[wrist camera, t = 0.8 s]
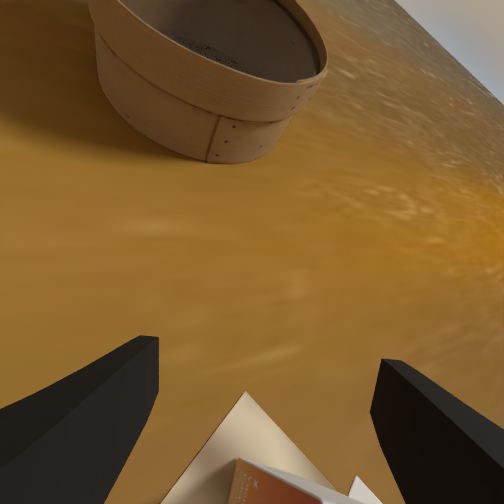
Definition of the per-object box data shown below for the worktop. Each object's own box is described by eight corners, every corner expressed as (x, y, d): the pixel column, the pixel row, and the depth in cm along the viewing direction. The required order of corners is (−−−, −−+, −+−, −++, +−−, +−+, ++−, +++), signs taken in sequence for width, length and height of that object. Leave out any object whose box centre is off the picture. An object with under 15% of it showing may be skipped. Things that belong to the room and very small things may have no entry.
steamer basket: (314, 145, 42) (368, 73, 33) (163, 192, 29) (181, 92, 19) (224, 34, 46) (249, -57, 37) (55, 29, 33) (28, -118, 24)
